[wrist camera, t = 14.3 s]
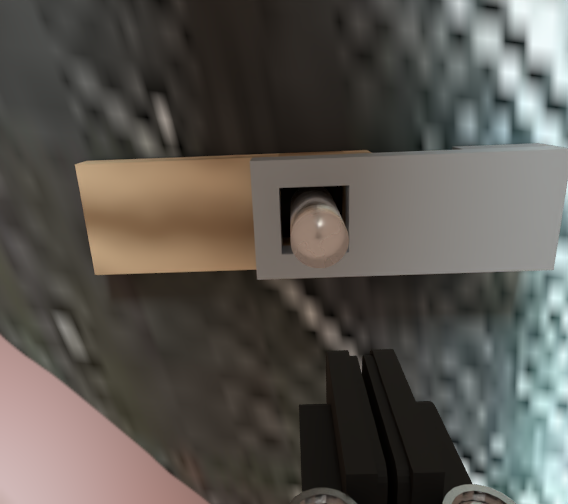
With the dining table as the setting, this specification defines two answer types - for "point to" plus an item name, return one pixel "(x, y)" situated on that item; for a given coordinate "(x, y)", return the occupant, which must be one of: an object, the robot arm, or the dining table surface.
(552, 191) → the link
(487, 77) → the dining table surface
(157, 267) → the link
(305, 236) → the pin
